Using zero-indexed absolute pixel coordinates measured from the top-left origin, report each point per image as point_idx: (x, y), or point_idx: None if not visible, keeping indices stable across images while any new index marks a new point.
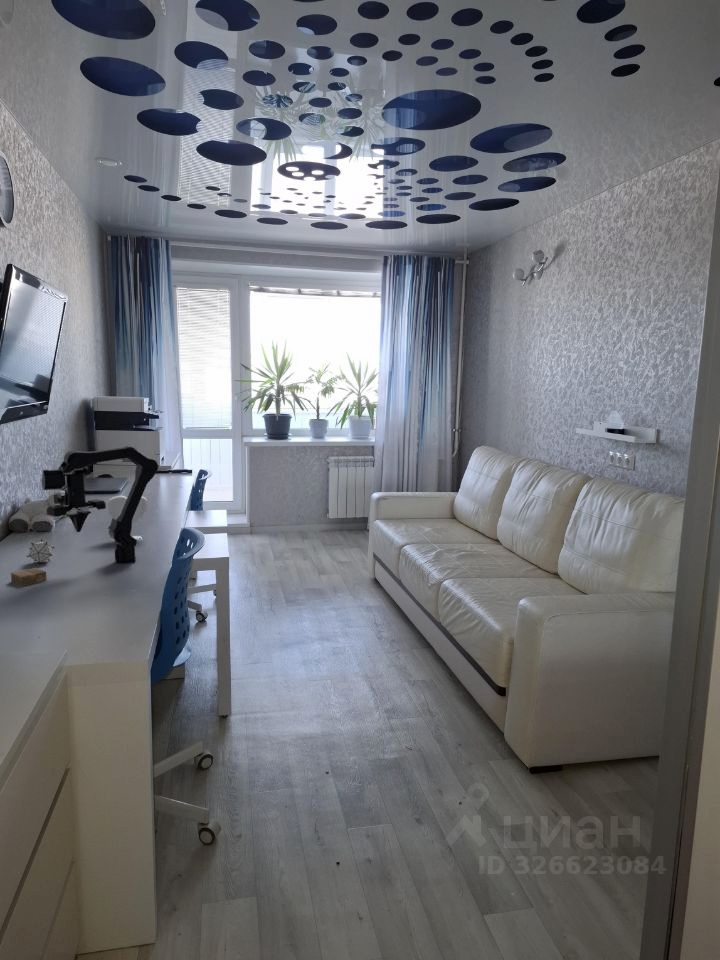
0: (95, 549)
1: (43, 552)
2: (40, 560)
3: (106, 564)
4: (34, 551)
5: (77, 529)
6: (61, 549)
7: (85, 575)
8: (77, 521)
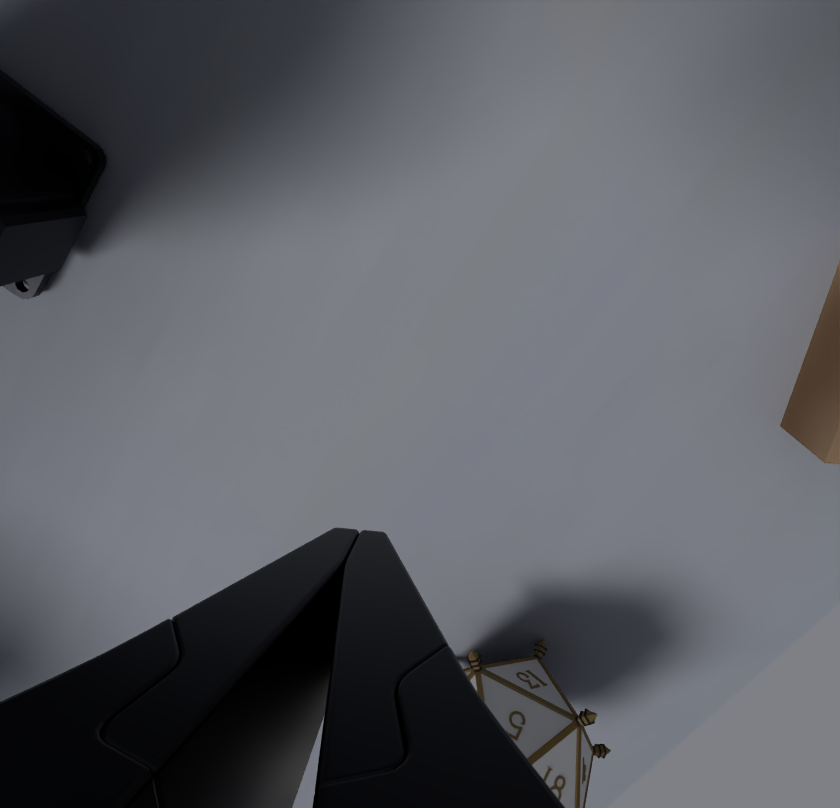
0: (68, 655)
1: (533, 708)
2: (539, 666)
3: (191, 233)
4: (583, 758)
5: (399, 564)
6: None
7: (548, 43)
8: (443, 708)
